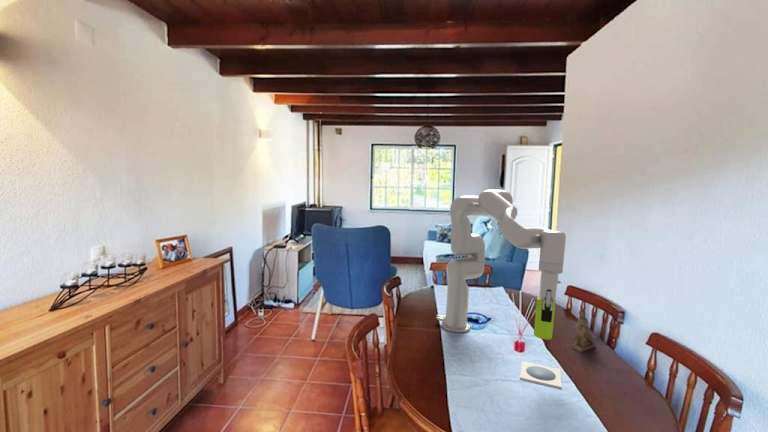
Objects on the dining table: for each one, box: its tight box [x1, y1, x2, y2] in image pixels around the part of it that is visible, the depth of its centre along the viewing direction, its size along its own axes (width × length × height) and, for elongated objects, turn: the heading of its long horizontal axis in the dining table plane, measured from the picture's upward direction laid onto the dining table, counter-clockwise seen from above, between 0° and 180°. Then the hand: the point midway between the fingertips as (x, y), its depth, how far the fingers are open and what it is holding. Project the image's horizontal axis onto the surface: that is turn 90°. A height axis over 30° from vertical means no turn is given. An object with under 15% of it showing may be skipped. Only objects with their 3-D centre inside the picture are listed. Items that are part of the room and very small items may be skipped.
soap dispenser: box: [533, 280, 562, 340], centre depth 131 cm, size 6×7×20 cm
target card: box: [519, 360, 563, 390], centre depth 134 cm, size 13×13×1 cm
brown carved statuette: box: [570, 310, 596, 353], centre depth 157 cm, size 12×6×18 cm, turn 121°
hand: (546, 317), depth 132 cm, fingers closed on soap dispenser, 5 cm apart
